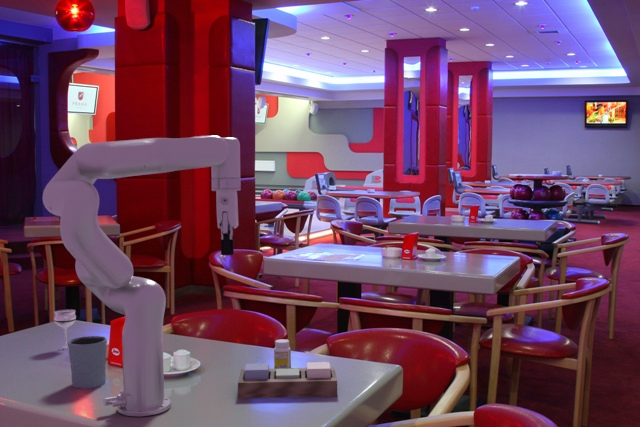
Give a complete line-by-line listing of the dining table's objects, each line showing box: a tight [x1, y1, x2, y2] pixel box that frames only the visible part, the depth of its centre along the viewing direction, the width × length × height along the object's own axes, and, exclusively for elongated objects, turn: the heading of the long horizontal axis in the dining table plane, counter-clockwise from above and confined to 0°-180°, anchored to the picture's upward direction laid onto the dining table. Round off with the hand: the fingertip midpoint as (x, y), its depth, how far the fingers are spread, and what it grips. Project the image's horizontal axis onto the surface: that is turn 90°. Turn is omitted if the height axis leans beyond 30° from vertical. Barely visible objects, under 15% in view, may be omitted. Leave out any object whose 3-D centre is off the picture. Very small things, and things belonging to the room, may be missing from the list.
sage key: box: [276, 369, 299, 379], centre depth 187 cm, size 6×6×4 cm
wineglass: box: [53, 308, 77, 348], centre depth 232 cm, size 7×7×12 cm
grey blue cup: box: [67, 335, 108, 390], centre depth 194 cm, size 10×10×12 cm
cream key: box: [306, 361, 331, 378], centre depth 187 cm, size 6×6×4 cm
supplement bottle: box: [273, 338, 292, 369], centre depth 206 cm, size 5×5×8 cm
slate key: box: [244, 362, 270, 380], centre depth 187 cm, size 6×6×4 cm
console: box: [237, 366, 338, 399], centre depth 187 cm, size 25×12×4 cm, turn 92°
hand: (227, 254), depth 189 cm, fingers closed
